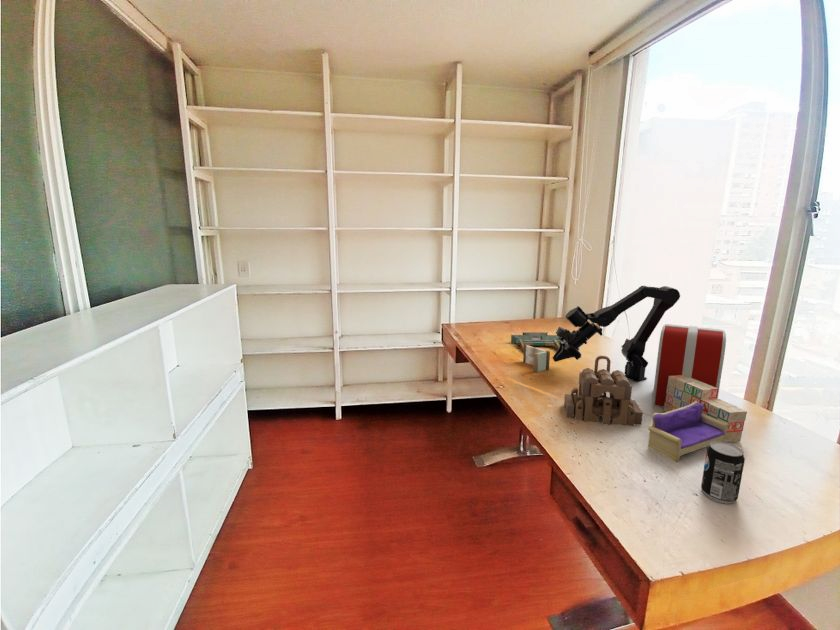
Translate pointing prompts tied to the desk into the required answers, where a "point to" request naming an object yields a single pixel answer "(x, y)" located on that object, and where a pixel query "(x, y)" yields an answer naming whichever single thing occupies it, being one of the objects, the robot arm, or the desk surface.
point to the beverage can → (722, 472)
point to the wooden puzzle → (603, 398)
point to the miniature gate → (535, 339)
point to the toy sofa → (684, 431)
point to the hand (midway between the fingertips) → (553, 359)
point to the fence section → (529, 355)
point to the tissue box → (688, 357)
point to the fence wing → (539, 361)
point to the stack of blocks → (705, 403)
